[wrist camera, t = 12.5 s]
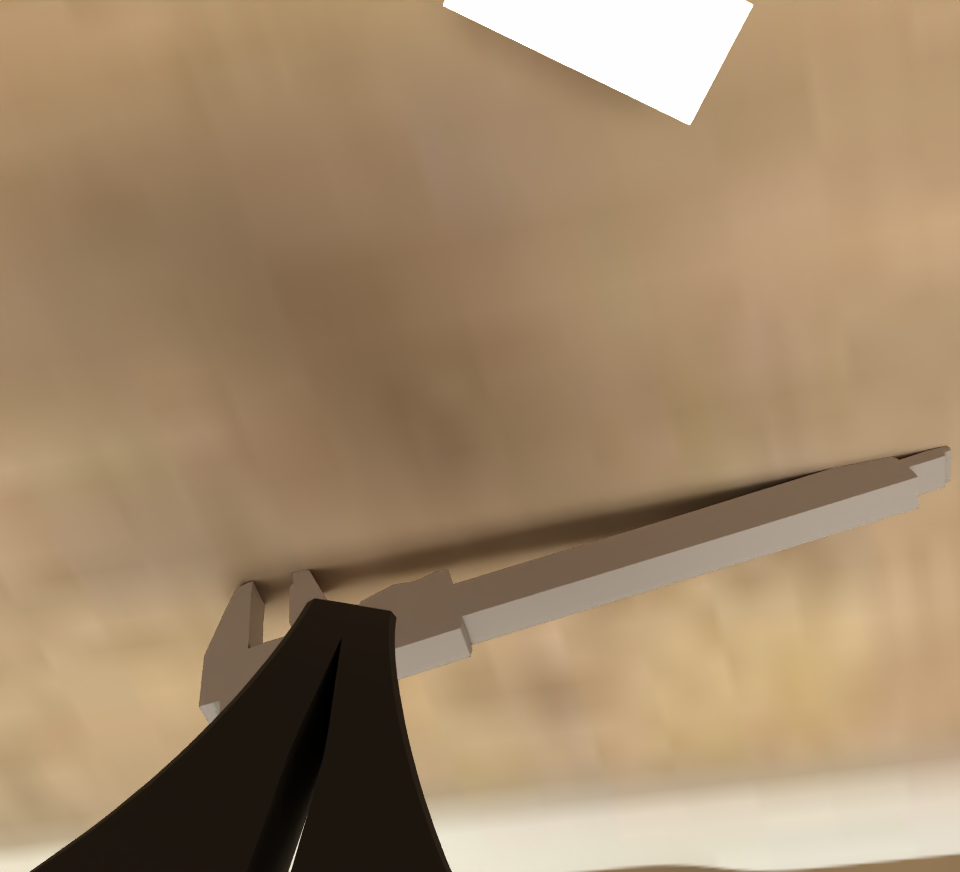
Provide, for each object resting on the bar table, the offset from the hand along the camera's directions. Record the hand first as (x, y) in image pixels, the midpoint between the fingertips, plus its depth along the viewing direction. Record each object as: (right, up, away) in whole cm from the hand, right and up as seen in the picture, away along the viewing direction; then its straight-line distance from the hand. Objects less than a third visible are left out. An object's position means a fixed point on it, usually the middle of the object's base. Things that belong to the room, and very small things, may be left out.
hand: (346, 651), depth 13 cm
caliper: (+5, +1, +11) cm, 12 cm away
